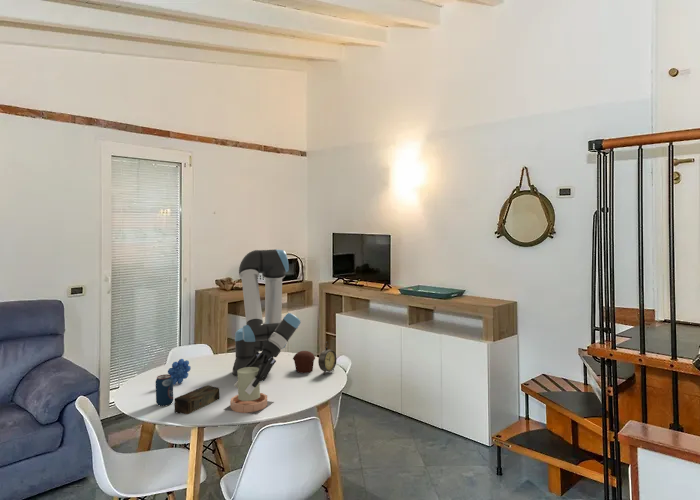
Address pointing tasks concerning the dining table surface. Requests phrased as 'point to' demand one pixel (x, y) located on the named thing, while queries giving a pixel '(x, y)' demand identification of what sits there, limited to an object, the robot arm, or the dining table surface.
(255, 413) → the mat
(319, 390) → the dining table surface
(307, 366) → the muffin
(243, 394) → the can
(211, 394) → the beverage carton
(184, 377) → the grapes
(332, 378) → the dining table surface
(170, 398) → the soda can
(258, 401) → the bowl
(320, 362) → the alarm clock
